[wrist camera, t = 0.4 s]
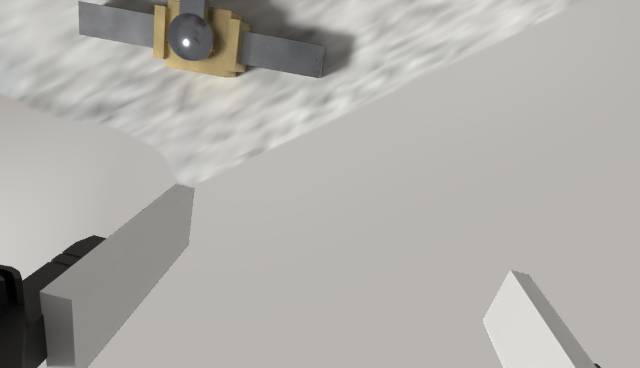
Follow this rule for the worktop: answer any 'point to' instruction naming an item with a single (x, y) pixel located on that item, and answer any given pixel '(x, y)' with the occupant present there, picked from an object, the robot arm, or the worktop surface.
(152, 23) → the gray bar
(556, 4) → the worktop surface
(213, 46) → the lever
